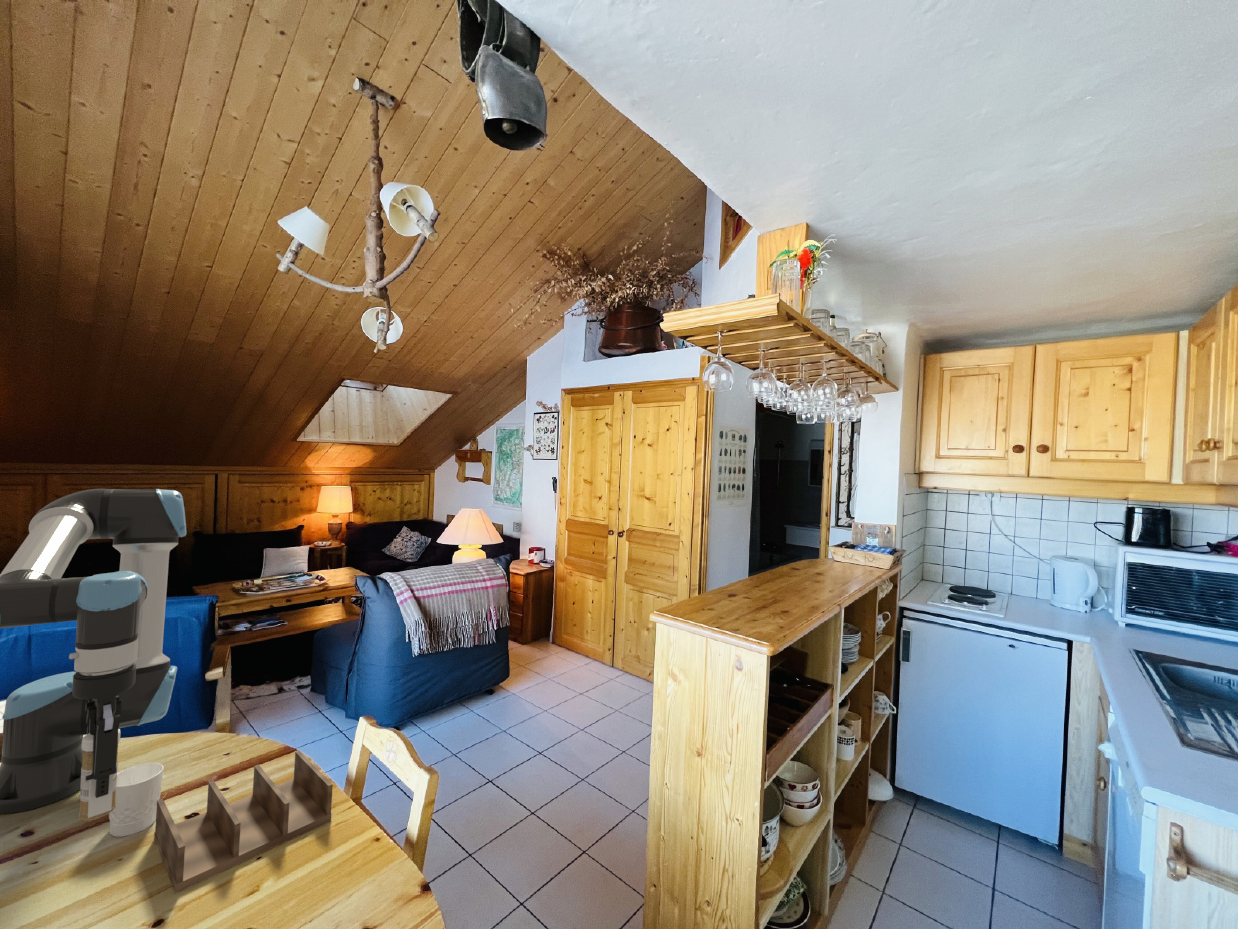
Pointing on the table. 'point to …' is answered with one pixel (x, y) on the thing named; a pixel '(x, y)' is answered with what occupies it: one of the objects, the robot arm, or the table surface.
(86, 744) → the sprinkles bottle
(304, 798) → the slot rack
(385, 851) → the table surface
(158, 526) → the robot arm
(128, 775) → the white cup
